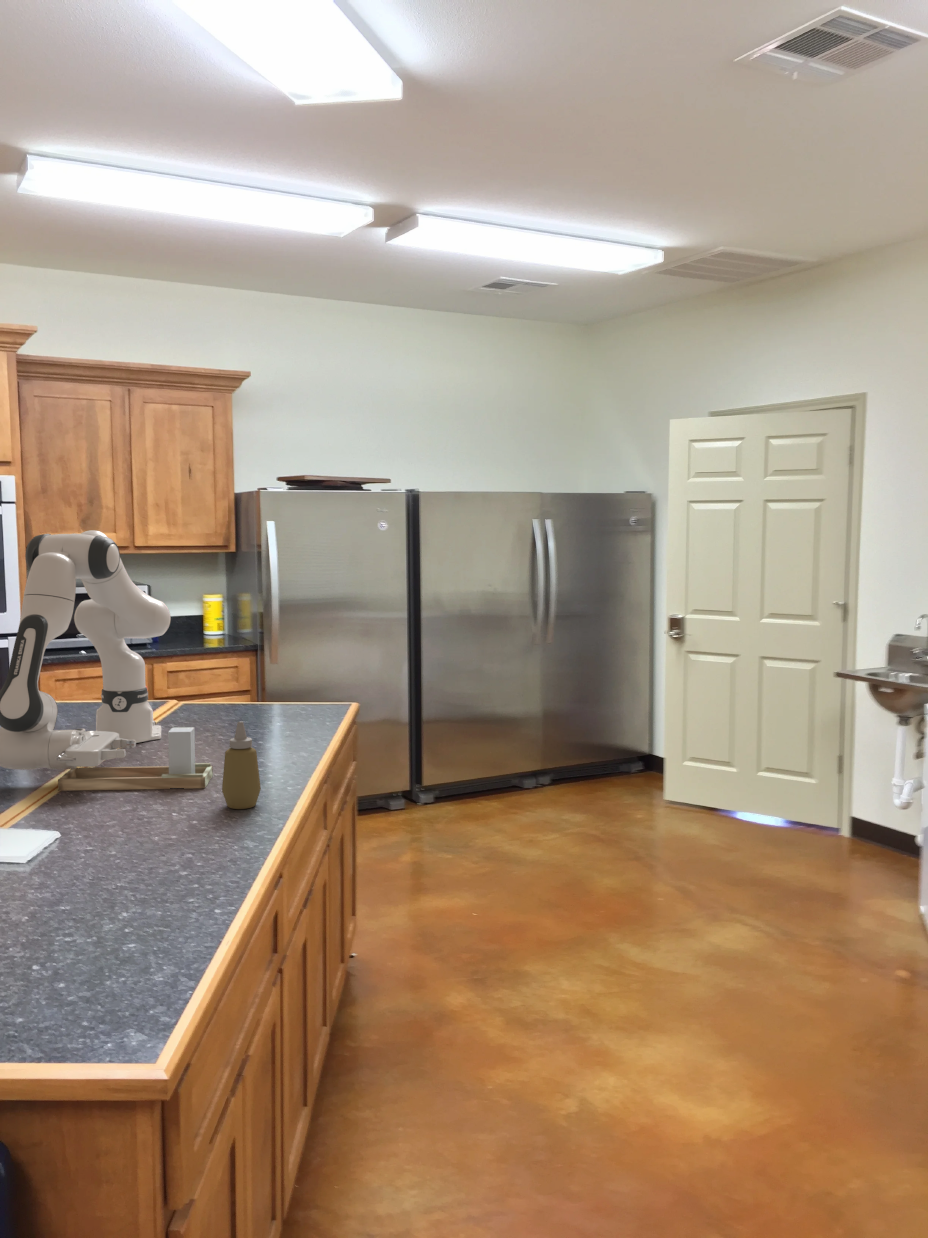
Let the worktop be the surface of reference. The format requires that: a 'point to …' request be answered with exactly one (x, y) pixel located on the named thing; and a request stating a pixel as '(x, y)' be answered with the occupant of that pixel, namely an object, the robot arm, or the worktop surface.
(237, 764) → the squeeze bottle
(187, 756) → the blue-grey block
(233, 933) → the worktop surface
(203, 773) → the channel
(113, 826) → the worktop surface
